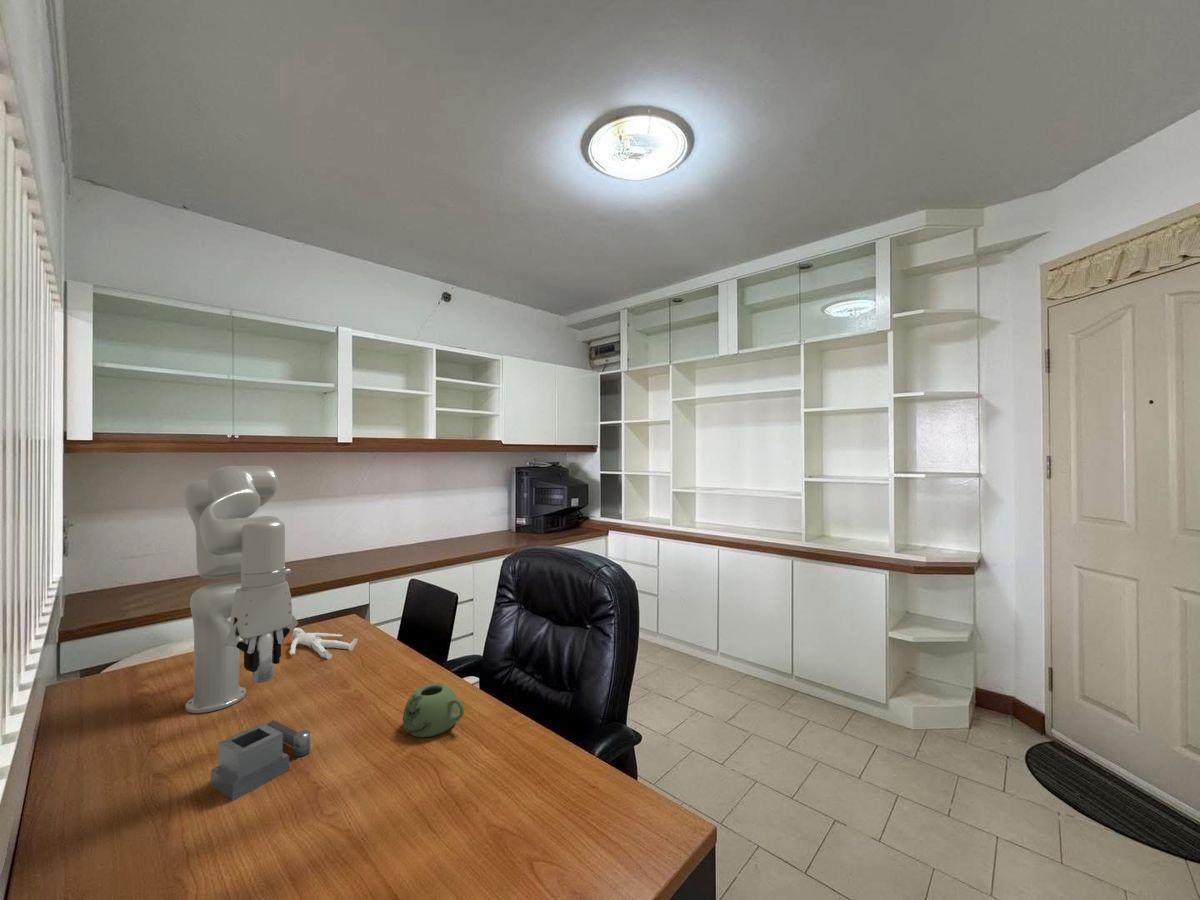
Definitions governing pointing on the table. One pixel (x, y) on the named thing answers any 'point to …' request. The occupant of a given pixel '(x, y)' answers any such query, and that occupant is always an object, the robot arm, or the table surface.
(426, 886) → the table surface
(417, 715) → the mug
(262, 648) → the rod
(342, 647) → the figurine
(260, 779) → the block
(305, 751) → the lever
